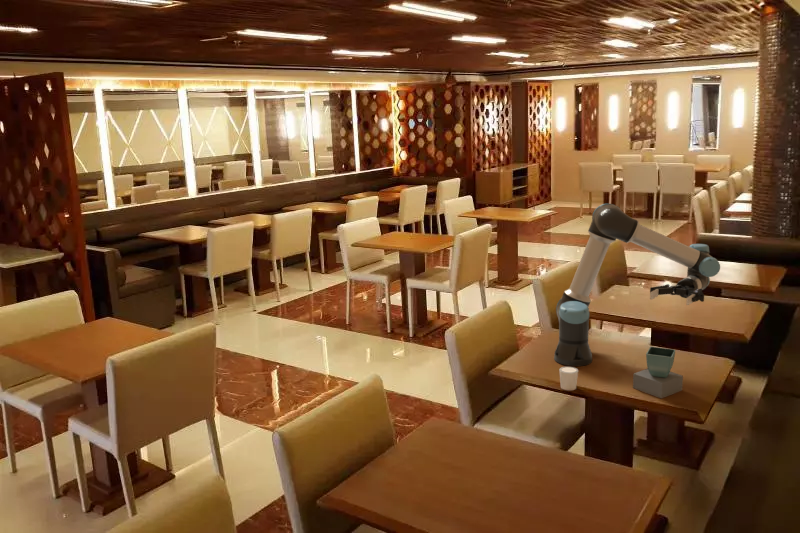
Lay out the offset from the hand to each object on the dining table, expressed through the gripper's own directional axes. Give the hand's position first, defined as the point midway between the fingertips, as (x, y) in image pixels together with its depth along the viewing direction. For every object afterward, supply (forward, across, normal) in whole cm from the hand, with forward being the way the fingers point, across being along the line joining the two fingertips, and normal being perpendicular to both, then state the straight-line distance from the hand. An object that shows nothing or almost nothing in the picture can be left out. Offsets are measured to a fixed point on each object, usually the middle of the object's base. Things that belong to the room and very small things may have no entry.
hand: (668, 298), depth 251 cm
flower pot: (+16, -4, -25) cm, 30 cm away
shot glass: (+34, +23, -30) cm, 51 cm away
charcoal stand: (+16, -3, -30) cm, 34 cm away
